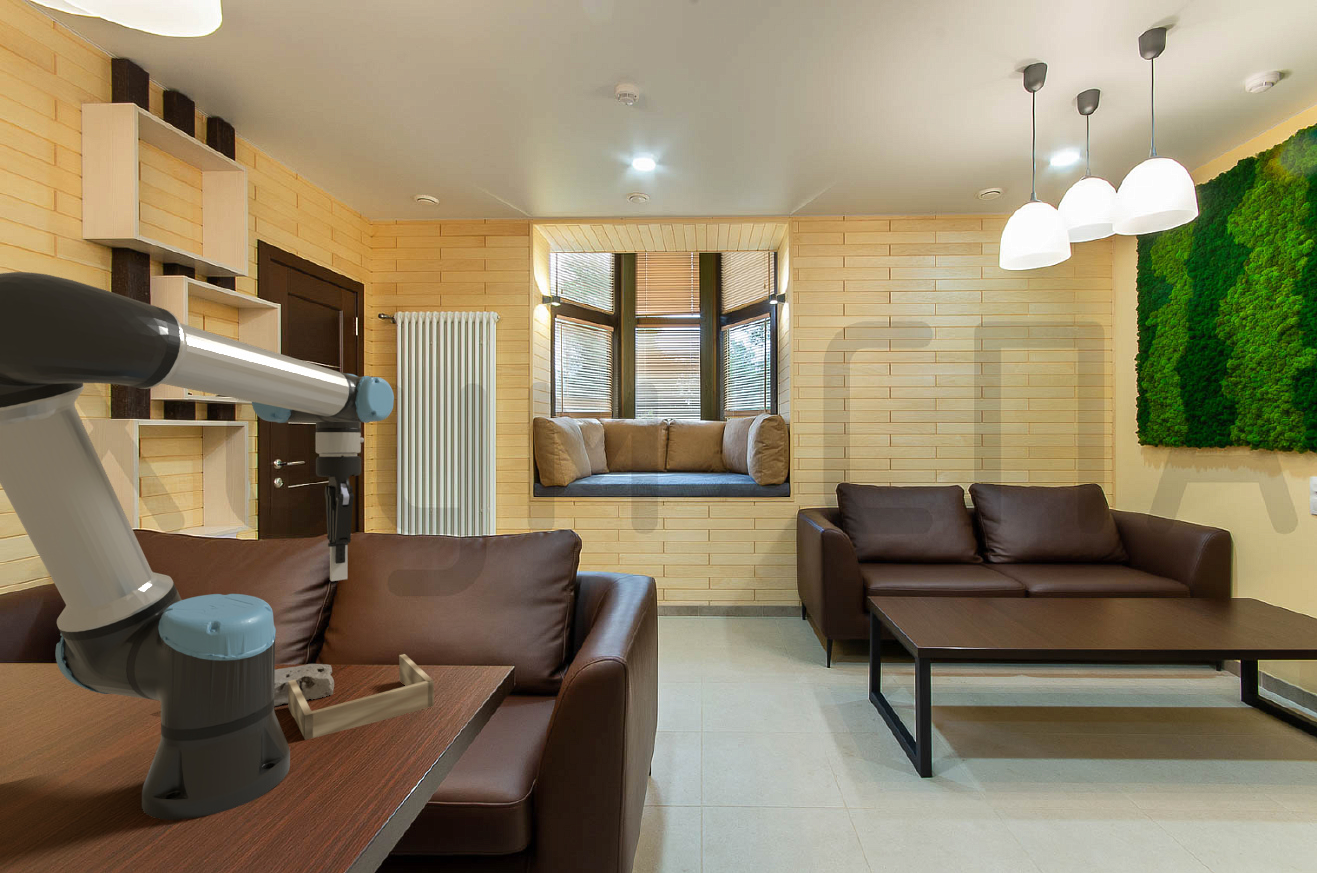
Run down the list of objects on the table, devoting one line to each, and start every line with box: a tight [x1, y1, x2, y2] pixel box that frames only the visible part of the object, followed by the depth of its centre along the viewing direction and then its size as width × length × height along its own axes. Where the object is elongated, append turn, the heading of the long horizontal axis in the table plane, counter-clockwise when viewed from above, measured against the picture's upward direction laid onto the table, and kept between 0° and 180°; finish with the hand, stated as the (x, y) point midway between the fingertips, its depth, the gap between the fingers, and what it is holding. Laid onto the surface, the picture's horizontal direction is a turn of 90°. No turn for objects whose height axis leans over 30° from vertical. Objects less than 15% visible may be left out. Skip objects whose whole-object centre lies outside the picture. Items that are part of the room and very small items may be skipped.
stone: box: [274, 663, 335, 708], centre depth 104 cm, size 13×6×10 cm
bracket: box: [287, 653, 435, 741], centre depth 99 cm, size 16×19×5 cm
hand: (338, 579), depth 110 cm, fingers closed
